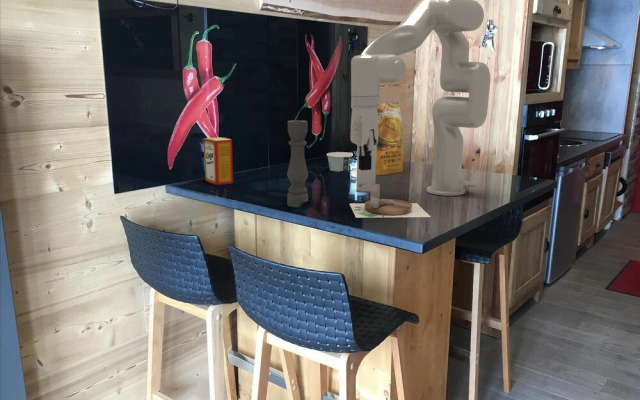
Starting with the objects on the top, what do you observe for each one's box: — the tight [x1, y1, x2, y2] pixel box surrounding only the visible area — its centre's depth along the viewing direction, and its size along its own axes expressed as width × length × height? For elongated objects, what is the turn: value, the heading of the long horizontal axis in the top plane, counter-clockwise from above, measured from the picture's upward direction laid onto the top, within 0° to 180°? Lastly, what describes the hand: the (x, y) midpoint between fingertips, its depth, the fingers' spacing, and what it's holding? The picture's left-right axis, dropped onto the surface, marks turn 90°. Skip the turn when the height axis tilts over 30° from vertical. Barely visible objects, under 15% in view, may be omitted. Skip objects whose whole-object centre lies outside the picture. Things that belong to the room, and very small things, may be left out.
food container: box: [326, 151, 353, 172], centre depth 224 cm, size 12×12×6 cm
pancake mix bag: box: [376, 102, 404, 176], centre depth 215 cm, size 7×19×28 cm, turn 130°
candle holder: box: [286, 119, 309, 208], centre depth 160 cm, size 6×6×25 cm
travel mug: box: [355, 145, 377, 194], centre depth 178 cm, size 6×7×20 cm
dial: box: [364, 183, 412, 215], centre depth 149 cm, size 16×13×8 cm
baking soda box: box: [203, 136, 234, 186], centre depth 195 cm, size 10×6×16 cm
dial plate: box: [349, 202, 431, 219], centre depth 151 cm, size 20×16×2 cm
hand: (365, 169), depth 150 cm, fingers closed
